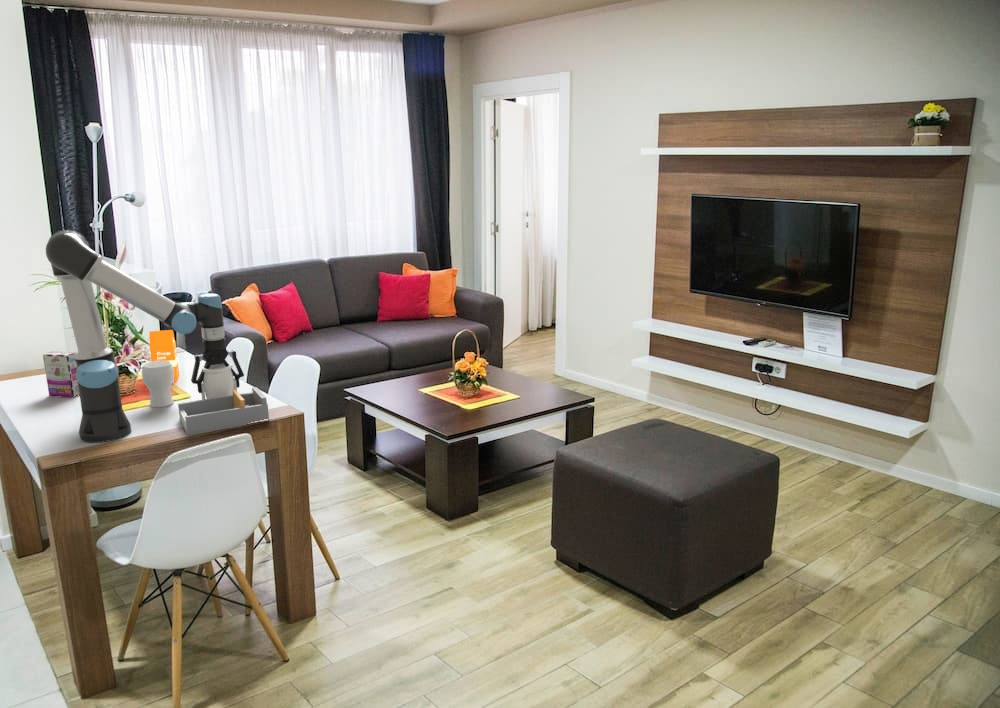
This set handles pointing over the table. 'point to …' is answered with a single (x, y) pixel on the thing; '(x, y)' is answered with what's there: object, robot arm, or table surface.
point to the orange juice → (164, 349)
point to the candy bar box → (61, 374)
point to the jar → (218, 381)
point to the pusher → (238, 400)
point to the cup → (159, 382)
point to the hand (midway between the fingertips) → (220, 398)
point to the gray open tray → (222, 412)
